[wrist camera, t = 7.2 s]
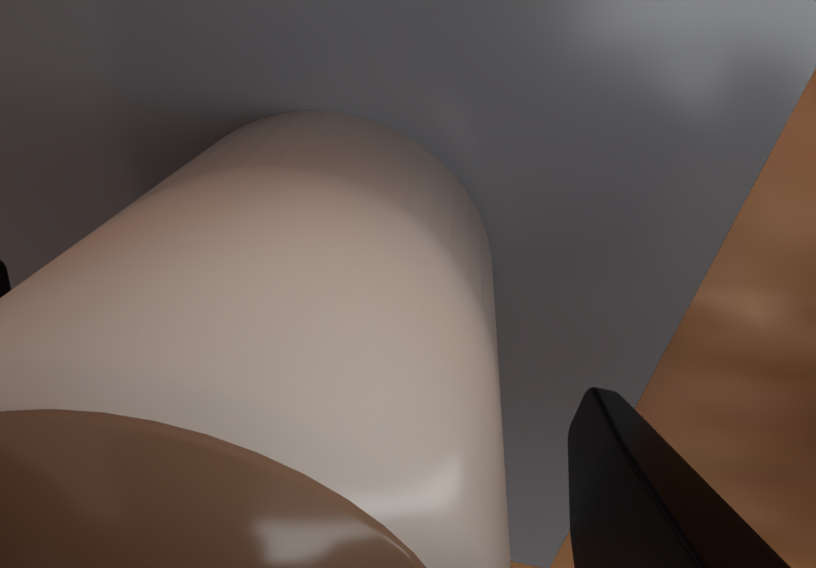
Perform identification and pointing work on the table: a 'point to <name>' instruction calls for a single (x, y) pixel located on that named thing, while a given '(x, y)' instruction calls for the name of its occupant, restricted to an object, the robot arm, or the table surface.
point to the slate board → (441, 154)
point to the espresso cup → (262, 368)
